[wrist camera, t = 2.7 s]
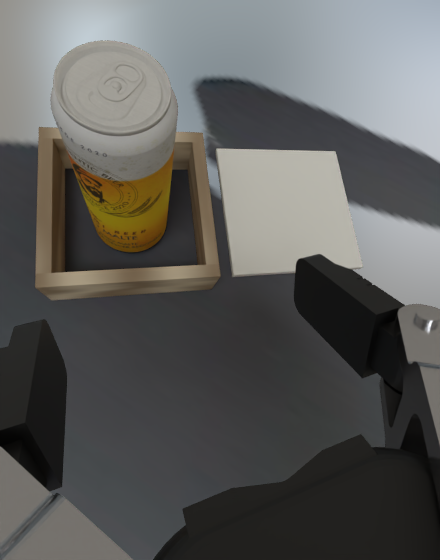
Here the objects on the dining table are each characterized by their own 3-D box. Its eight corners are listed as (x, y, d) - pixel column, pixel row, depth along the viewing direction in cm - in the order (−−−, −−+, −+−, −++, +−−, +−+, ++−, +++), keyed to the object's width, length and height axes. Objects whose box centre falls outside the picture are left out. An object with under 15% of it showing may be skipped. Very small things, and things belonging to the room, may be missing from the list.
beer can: (80, 232, 29) (12, 90, 15) (121, 181, 31) (96, 13, 17) (142, 268, 29) (134, 164, 15) (178, 215, 31) (202, 78, 17)
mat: (232, 277, 30) (233, 275, 30) (215, 152, 34) (216, 148, 33) (359, 269, 33) (363, 267, 32) (332, 154, 36) (335, 151, 36)
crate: (51, 300, 27) (35, 287, 23) (52, 158, 30) (38, 127, 26) (211, 289, 30) (220, 276, 26) (196, 160, 33) (202, 132, 29)
